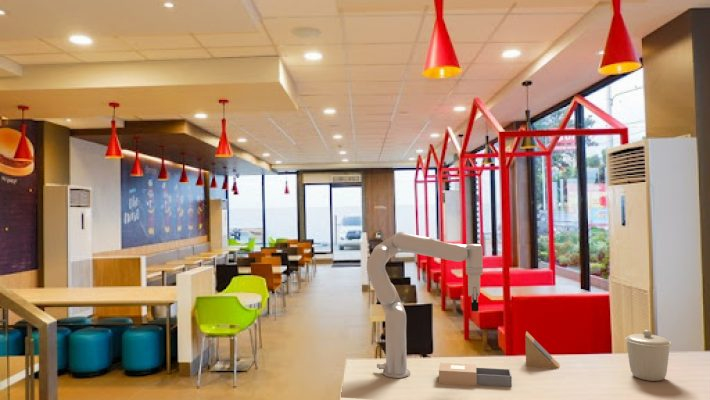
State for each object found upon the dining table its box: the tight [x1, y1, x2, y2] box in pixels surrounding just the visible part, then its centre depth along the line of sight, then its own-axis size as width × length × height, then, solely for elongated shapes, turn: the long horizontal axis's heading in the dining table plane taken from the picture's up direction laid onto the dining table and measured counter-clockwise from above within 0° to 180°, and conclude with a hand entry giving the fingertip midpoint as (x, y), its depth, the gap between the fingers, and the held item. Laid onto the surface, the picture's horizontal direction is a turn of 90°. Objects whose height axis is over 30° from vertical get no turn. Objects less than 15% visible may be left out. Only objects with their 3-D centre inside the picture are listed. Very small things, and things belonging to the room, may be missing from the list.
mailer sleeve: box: [438, 362, 478, 386], centre depth 228 cm, size 16×11×6 cm
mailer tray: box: [476, 367, 513, 388], centre depth 225 cm, size 15×9×4 cm, turn 78°
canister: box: [624, 329, 672, 382], centre depth 229 cm, size 18×18×21 cm
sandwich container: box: [525, 330, 561, 370], centre depth 249 cm, size 9×15×15 cm, turn 69°
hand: (474, 310), depth 237 cm, fingers closed
